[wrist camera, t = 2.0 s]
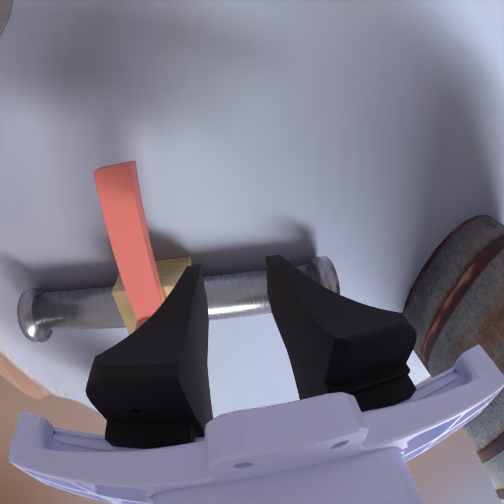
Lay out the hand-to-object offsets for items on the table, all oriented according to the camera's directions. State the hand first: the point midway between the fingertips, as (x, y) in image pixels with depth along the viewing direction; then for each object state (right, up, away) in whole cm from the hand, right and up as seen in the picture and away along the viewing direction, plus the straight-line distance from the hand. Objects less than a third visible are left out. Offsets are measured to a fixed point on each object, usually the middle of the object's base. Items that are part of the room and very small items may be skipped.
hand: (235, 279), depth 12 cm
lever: (-7, 0, +5) cm, 8 cm away
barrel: (+31, -4, +19) cm, 36 cm away
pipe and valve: (-7, -2, +11) cm, 14 cm away
